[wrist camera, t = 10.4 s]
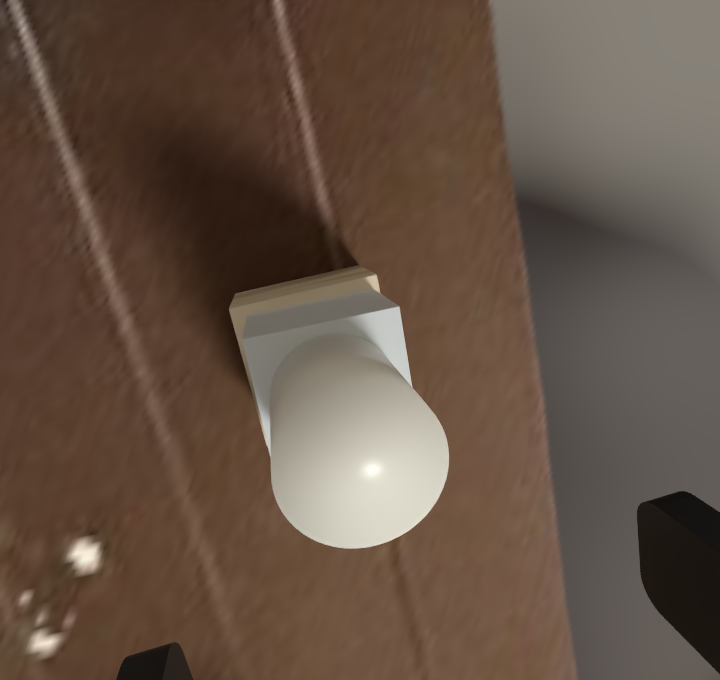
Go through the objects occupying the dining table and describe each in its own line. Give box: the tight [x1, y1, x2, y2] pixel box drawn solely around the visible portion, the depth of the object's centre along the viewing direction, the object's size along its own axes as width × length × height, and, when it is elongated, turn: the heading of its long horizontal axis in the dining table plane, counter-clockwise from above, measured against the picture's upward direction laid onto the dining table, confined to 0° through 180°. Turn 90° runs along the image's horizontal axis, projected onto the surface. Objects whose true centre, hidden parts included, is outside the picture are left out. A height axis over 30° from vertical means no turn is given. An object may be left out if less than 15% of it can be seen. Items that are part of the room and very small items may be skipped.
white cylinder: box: [270, 333, 449, 548], centre depth 17 cm, size 5×5×6 cm
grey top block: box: [242, 289, 412, 457], centre depth 22 cm, size 6×6×5 cm
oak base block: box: [229, 265, 380, 446], centre depth 27 cm, size 7×7×5 cm
